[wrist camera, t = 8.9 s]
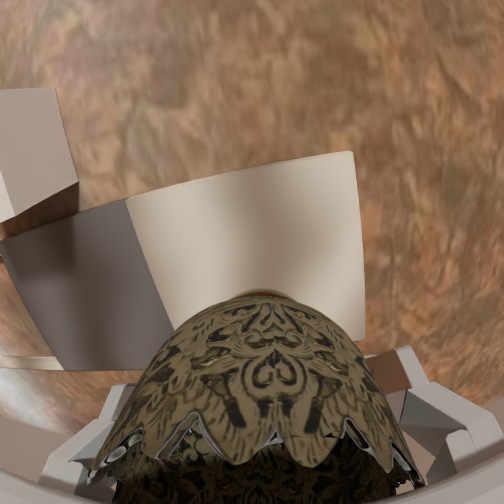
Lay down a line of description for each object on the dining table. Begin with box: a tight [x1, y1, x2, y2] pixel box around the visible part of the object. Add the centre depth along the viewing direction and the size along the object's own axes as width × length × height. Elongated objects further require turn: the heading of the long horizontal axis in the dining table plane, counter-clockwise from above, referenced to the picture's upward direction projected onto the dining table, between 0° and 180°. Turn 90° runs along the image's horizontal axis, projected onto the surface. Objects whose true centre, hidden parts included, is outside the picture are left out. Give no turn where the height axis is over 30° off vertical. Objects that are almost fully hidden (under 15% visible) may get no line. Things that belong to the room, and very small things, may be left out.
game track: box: [0, 151, 365, 370], centre depth 16 cm, size 30×10×1 cm, turn 102°
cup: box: [85, 288, 425, 504], centre depth 8 cm, size 8×7×8 cm
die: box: [0, 88, 78, 223], centre depth 11 cm, size 5×5×5 cm
